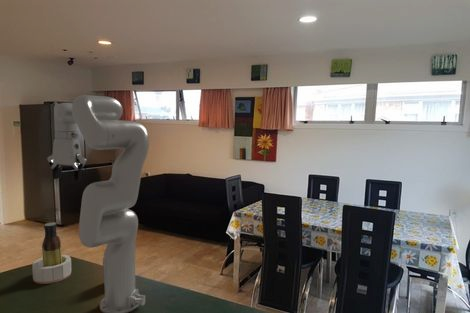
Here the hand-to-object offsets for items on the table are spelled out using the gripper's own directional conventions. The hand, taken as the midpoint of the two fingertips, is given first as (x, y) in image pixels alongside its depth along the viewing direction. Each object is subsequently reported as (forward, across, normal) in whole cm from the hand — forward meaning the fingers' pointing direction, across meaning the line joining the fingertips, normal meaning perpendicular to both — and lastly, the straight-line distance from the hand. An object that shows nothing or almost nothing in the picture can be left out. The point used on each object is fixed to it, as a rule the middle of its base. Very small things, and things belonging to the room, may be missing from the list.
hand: (67, 179), depth 127 cm
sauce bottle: (+36, +1, +8) cm, 37 cm away
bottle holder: (+36, +1, +8) cm, 37 cm away
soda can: (+36, -25, +7) cm, 45 cm away
